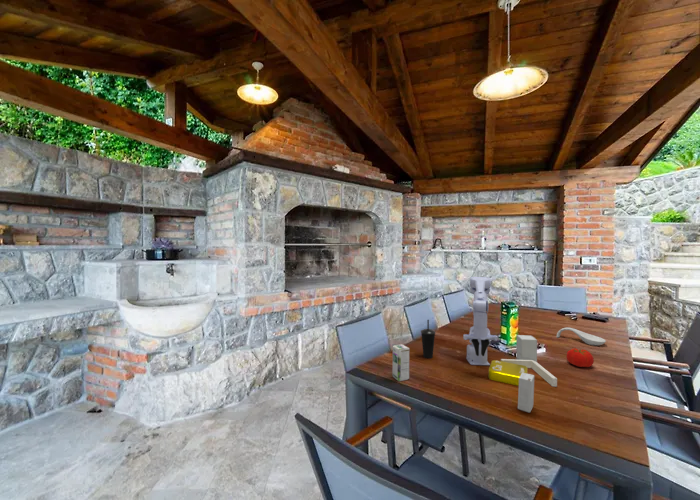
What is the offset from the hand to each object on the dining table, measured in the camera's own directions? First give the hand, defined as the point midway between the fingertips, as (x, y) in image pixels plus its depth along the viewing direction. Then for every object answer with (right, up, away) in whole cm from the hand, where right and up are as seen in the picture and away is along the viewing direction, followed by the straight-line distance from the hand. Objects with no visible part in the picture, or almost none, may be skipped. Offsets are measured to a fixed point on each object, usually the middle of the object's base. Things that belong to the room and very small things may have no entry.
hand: (480, 355), depth 138 cm
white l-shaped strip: (+21, -9, 0) cm, 23 cm away
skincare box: (+6, -11, -26) cm, 29 cm away
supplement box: (+30, -9, +15) cm, 35 cm away
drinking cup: (-18, -9, +22) cm, 30 cm away
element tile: (+12, -10, -1) cm, 16 cm away
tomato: (+54, -9, +11) cm, 56 cm away
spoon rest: (+80, -8, +44) cm, 92 cm away
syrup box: (-37, -10, -2) cm, 38 cm away
